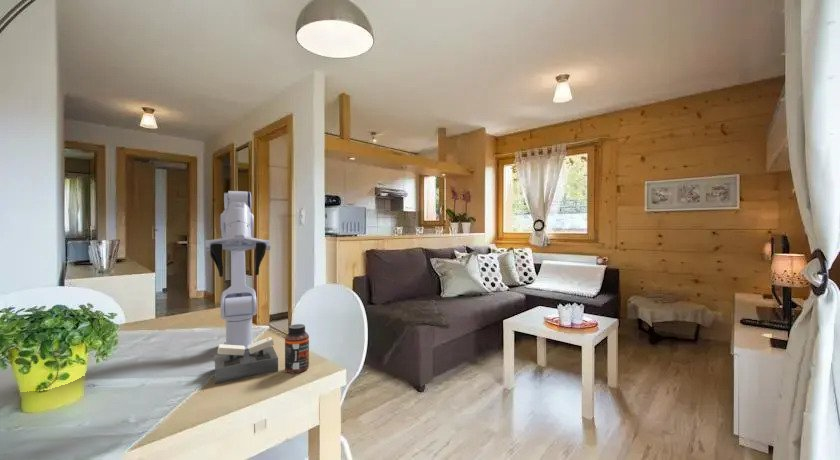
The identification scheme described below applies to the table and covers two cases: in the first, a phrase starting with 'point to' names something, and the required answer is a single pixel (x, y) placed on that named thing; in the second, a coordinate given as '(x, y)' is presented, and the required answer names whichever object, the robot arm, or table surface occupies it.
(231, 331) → the robot arm
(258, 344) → the rocker
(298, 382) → the table surface
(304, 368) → the supplement bottle
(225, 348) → the block
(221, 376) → the rocker switch box
